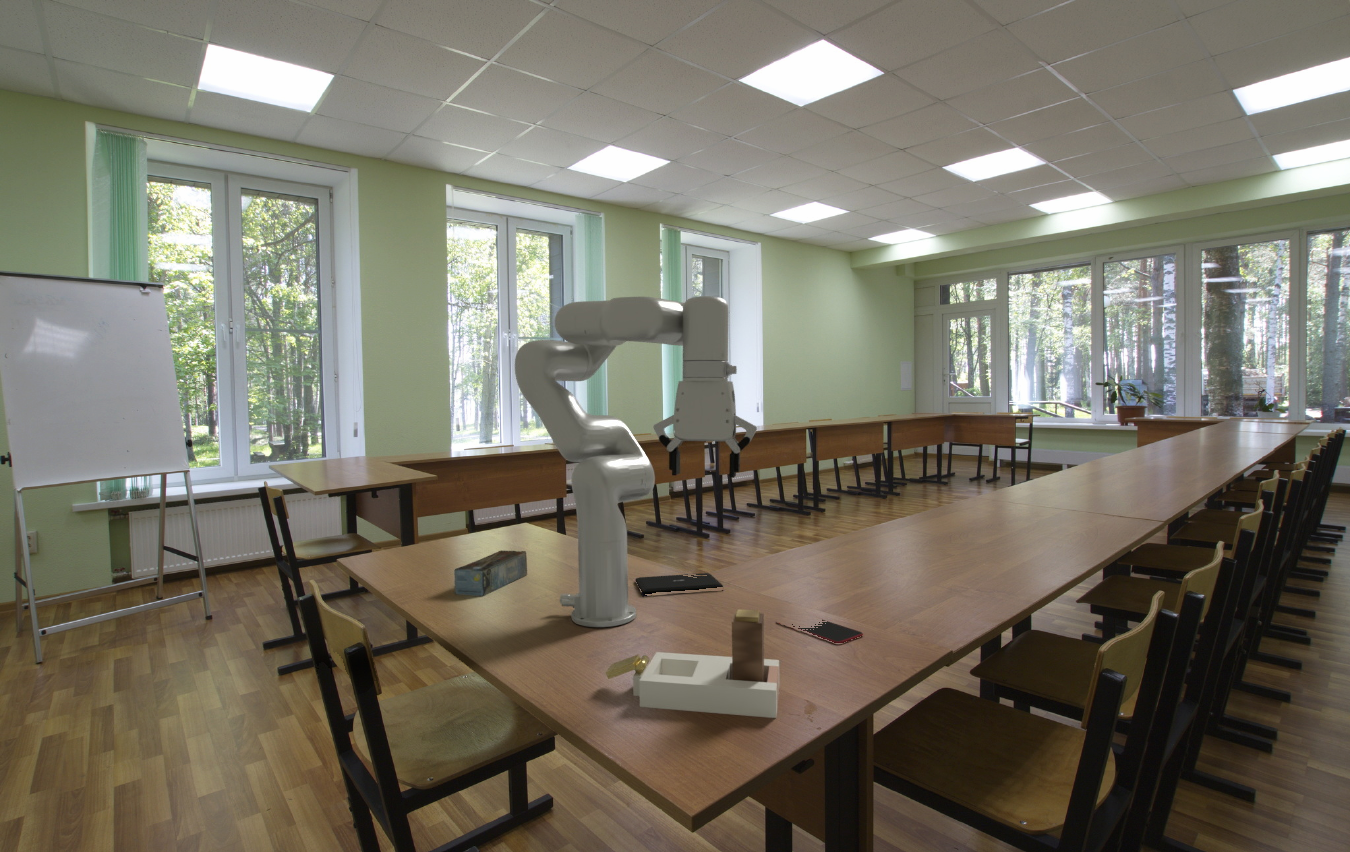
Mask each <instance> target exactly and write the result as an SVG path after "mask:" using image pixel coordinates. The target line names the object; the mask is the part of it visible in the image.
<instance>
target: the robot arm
mask: <svg viewBox="0 0 1350 852" xmlns="http://www.w3.org/2000/svg"><path fill="white" fill-rule="evenodd" d="M554 317H555V318H554V328H555V330H556V332H557V335H559V337H561V338H562V340H563V341H562V340H551V339H537V340H531V341H528V342H526V343H524V344H522V345H521V346H520V348H519V349H518V350H517V352H516V355H515V358H514V375H515V380H516V382H517V386H518V388H519V390H520V393H522V396H523V398H524V399H525V401H527V403H528V404H529V405H530V406H531V408H532V409H533V410H534V412H535V413H536V414H537V415H538V417H539V419H540V420H541V422H542V425H543V426H544V428H545V429H546V431H547V434H548V435H549V437H550V438H551V440H552V442H553V443H554V445H555V446H556V448H557V450H558V452H559V453H560V455H561V456H562V458H564V459H565V460H566V461H568V462H570V463H571V462H572V463H577V465H576V466H575V467H574V469H573V471H572V473H571V482H570V483H571V489H572V495H573V499H574V504H575V510H576V519H577V522H576V523H577V543H578V544H577V546H578V548H577V551H578V552H577V553H578V555H577V556H578V592H577V593H575V594H571V593H561V594H560V596H559V602H560V604H561V607H567V608H568V607H572V608H573V609H572V611H571V613H570V614H571V621H572V622H573V623H575V624H577V625H579V626H582V627H588V628H607V627H608V628H610V627H617V626H621V625H625V624H627V623H630V622H631V621H633V620H634V619H635V618H636V617H637V609H636V607H634V606H633V605H631V604H629V588H628V587H629V586H628V585H629V582H628V581H629V580H628V574H629V573H628V572H629V571H628V529H627V528H628V527H627V524H626V520H625V518H624V515H623V513H622V511H621V509H620V508H619V505H618V504H619V503H624V502H630V501H636V500H641V499H643V498H645V497H647V496H648V495H650V494H651V492H652V491H653V489H654V487H655V482H656V475H655V469H654V467H653V465H652V463H651V460H650V459H649V458H648V456H647V455H646V453H645V451H644V449H643V447H641V445H640V444H639V442H638V440H637V439H636V438H635V436H634V434H633V433H632V431H631V430H630V428H629V427H628V425H627V424H626V423H625V422H624V421H623V420H621V419H620V418H618V417H616V416H613V415H608V414H607V415H605V414H604V415H603V414H601V415H600V414H599V415H596V414H595V415H594V414H590V413H587V412H586V411H585V410H584V409H583V407H582V406H581V404H580V403H579V400H578V399H577V397H575V396H574V394H573V393H572V392H571V391H570V390H568V389H567V388H566V387H565V386H564V385H561V384H560V383H559V382H583V381H587V380H589V379H591V377H593V376H594V375H595V374H596V372H597V371H598V370H599V369H600V368H601V367H602V366H603V364H604V363H605V362H606V360H607V359H609V357H610V356H611V354H612V353H613V351H614V350H615V349H616V347H618V346H621V345H623V344H625V343H626V342H637V343H649V344H650V343H651V344H660V345H668V346H682V380H679V381H678V383H677V388H676V393H675V402H674V411H673V414H672V415H671V416H668V417H667V418H664V419H663V420H661V421H658V422H657V423H655V424H654V425H653V429H654V432H655V433H656V434H655V435H656V437H658V441H659V442H660V443H661V444H662V445H663V446H664V448H666V451H668V470H669V471H671V475H672V476H675V477H676V476H677V475H679V474H681V451H680V450H679V446H681V445H682V443H683V442H685V441H687V442H688V441H689V442H690V441H691V442H694V441H695V442H725V444H726V445H728V447H729V449H731V453H729V466H728V467H729V470H728V472H729V475H728V476H729V478H735V477H736V476H737V473H740V472H741V468H740V467H741V451H743V450H744V449H745V448H746V447H747V446H748V444H750V443H751V441H752V439H753V437H754V435H755V434H756V432H757V430H758V428H757V425H754V424H753V423H752V422H749V421H748V420H746V419H744V418H741V417H739V416H737V410H736V395H735V389H734V388H735V387H734V383H733V381H730V380H729V381H728V379H729V377H730V376H731V375H736V374H737V371H738V369H737V366H736V365H732V364H730V363H729V362H728V361H729V304H728V302H727V301H726V300H725V299H724V298H722V297H718V296H710V295H709V296H708V295H707V296H704V295H702V296H701V295H700V296H694V297H689V298H687V300H685V301H684V302H681V301H676V300H670V299H665V298H660V297H651V296H624V297H623V296H620V297H612V298H611V299H609V300H592V301H591V300H589V301H587V300H586V301H583V300H581V301H574V302H569V303H566V304H564V305H563V306H561V307H560V308H559V309H558V311H556V315H555V316H554ZM672 425H673V430H672V431H673V436H674V438H672V439H671V438H670V437H669V436H668V435H667V434H666V431H665V429H666V428H668V427H669V426H672ZM737 426H738V427H740V428H742V429H744V430H745V432H746V433H745V435H744V437H743V438H742V439H741V440H740V441H738V440H737V439H736V438H735V437H736V436H737V435H736V434H737Z"/></svg>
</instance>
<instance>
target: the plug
mask: <svg viewBox="0 0 1350 852" xmlns="http://www.w3.org/2000/svg"><path fill="white" fill-rule="evenodd" d="M764 617H765V616H764V613H761V610H759V609H757V610H755V609H737V611H734V614H733V617H732V620H731V653H732V654H731V657H732V677H733V680H741V681H755V682H764V659H765V632H764V631H765V628H764V626H765V623H764V620H765V619H764Z"/></svg>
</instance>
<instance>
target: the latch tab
mask: <svg viewBox="0 0 1350 852" xmlns="http://www.w3.org/2000/svg"><path fill="white" fill-rule="evenodd" d="M649 663H650V657H649V656H648V655H646V654H645V655H642V656H640V654H636V655H633V656H631V657H628V658H625V659H622V660H620V661H617V662H614V663H612V664H611V665H610V666H609V667H608V669H607V670H606V672H605V675H606V677H607V680H609V679H612V678H615V677H618V676H621V675H623V674H628V673H630V672H632V671H635V672H636V673H638V674H641V673H642V672H643V671H644V669H645V667H646V666H647V665H649ZM635 672H634V673H635Z"/></svg>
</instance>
